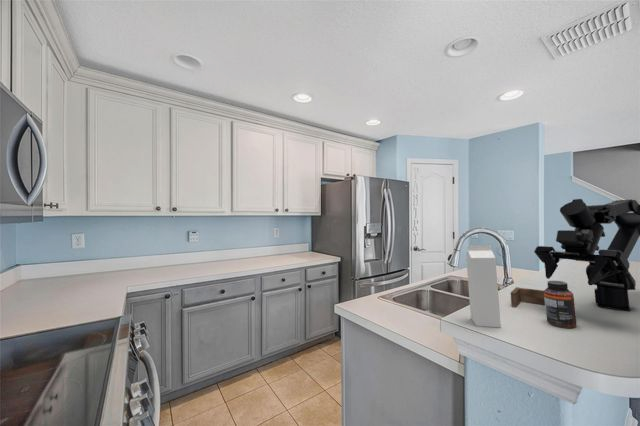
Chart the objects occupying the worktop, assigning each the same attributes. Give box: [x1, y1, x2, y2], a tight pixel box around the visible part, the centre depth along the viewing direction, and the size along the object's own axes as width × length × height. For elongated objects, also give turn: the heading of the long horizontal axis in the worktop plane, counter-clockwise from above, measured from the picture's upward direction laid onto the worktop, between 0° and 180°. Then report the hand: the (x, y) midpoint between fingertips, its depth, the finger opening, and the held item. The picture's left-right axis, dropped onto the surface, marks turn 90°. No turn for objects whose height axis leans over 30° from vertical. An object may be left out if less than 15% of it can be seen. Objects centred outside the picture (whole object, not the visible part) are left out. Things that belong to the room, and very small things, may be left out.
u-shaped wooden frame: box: [510, 286, 545, 308], centre depth 83 cm, size 10×9×4 cm
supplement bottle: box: [543, 280, 577, 329], centre depth 69 cm, size 6×6×11 cm
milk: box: [465, 244, 502, 328], centre depth 73 cm, size 6×6×22 cm
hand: (567, 280), depth 71 cm, fingers open, 9 cm apart
